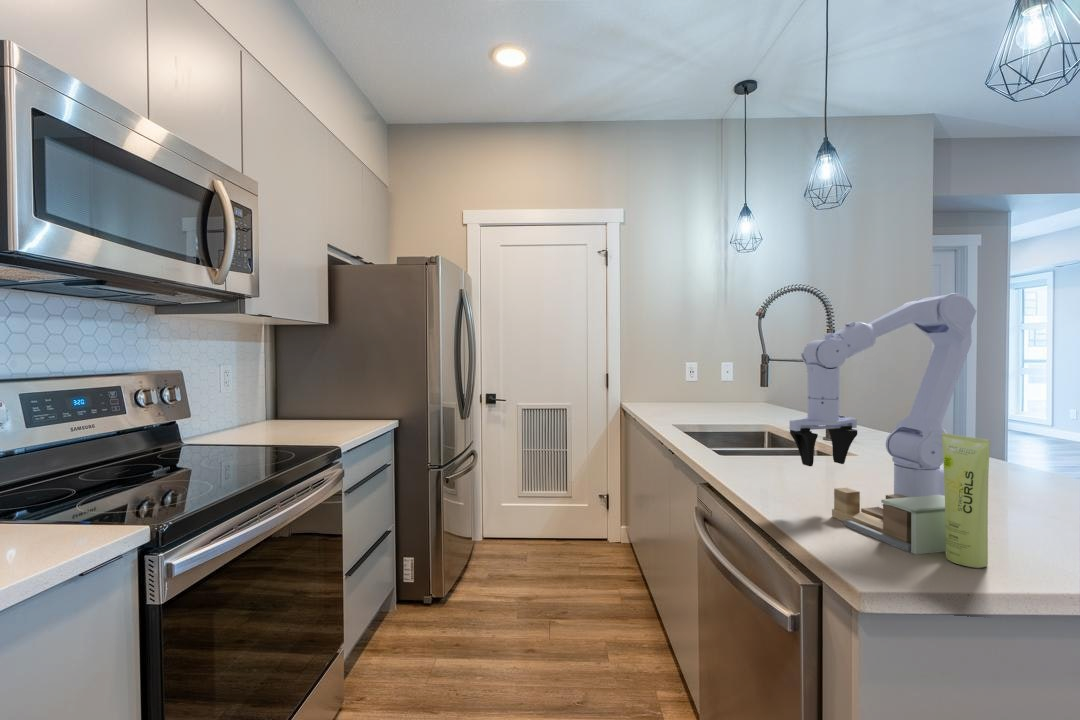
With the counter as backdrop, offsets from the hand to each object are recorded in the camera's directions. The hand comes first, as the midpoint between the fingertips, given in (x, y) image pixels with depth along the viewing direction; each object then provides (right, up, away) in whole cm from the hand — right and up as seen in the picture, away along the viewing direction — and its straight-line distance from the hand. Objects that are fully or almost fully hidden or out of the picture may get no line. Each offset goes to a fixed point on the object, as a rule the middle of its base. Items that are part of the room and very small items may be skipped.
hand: (823, 464), depth 104 cm
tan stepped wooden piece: (+3, -10, -12) cm, 16 cm away
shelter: (+7, -10, -18) cm, 22 cm away
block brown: (+8, -9, -8) cm, 15 cm away
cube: (+4, -8, -18) cm, 20 cm away
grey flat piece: (+6, -10, -14) cm, 18 cm away
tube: (+7, -10, -26) cm, 29 cm away
